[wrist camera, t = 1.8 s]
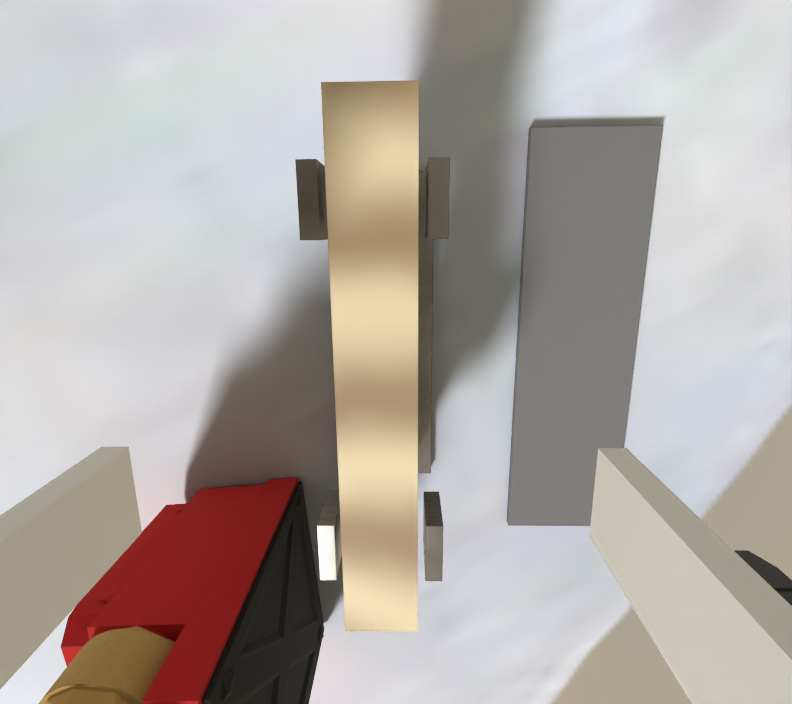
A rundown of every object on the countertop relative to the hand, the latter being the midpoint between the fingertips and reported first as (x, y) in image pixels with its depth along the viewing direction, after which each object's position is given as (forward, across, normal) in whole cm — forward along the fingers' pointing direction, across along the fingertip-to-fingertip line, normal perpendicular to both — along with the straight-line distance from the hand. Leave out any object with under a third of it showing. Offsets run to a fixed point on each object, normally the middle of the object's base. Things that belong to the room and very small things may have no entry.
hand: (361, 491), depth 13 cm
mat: (+20, +13, 0) cm, 24 cm away
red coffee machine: (+21, -11, -18) cm, 30 cm away
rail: (+10, 0, 0) cm, 10 cm away
